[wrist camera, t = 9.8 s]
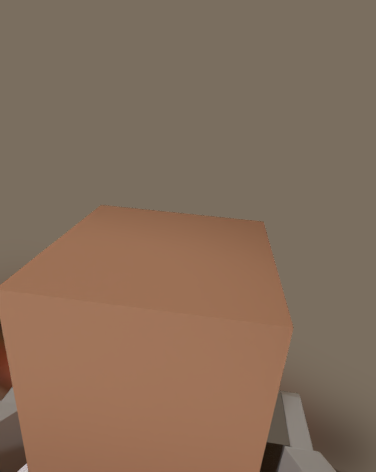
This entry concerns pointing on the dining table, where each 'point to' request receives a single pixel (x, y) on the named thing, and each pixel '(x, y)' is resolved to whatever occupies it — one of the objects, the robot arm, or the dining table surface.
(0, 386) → the dining table surface
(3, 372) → the dining table surface
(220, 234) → the terracotta block
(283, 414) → the robot arm
